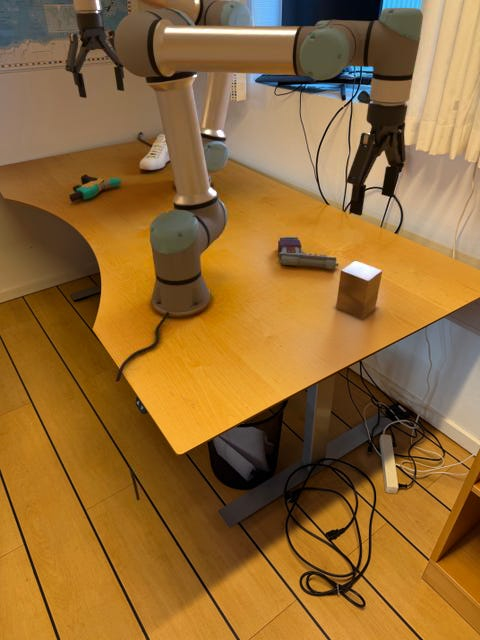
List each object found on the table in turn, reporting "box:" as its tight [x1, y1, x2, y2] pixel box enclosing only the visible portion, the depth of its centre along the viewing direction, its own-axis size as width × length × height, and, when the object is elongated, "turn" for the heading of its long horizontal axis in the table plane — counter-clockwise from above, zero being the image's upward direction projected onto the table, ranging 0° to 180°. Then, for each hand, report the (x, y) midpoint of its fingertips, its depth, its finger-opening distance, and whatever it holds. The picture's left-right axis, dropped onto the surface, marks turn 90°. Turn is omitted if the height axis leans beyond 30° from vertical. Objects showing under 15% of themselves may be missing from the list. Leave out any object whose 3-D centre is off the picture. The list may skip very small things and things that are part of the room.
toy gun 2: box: [277, 236, 339, 270], centre depth 142 cm, size 4×19×15 cm
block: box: [335, 260, 383, 320], centre depth 119 cm, size 8×7×11 cm
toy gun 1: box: [69, 174, 122, 203], centre depth 188 cm, size 4×26×15 cm
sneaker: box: [139, 133, 170, 171], centre depth 214 cm, size 10×29×12 cm, turn 163°
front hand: (371, 204), depth 106 cm, fingers open, 13 cm apart
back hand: (102, 93), depth 147 cm, fingers open, 13 cm apart
